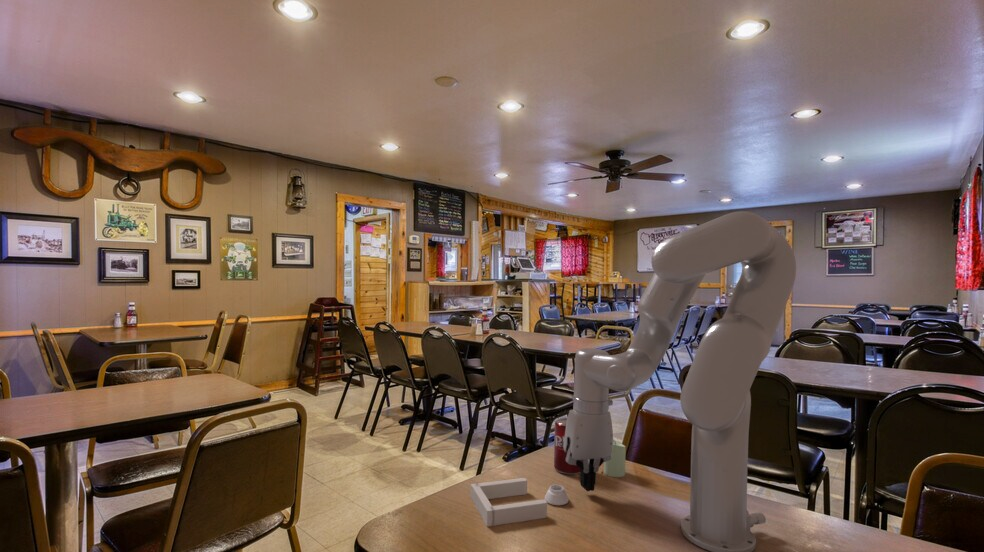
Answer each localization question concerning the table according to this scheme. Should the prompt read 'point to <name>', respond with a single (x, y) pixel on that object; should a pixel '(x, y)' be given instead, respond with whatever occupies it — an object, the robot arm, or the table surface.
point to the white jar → (556, 495)
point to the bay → (508, 511)
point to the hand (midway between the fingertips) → (587, 488)
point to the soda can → (562, 450)
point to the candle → (616, 461)
